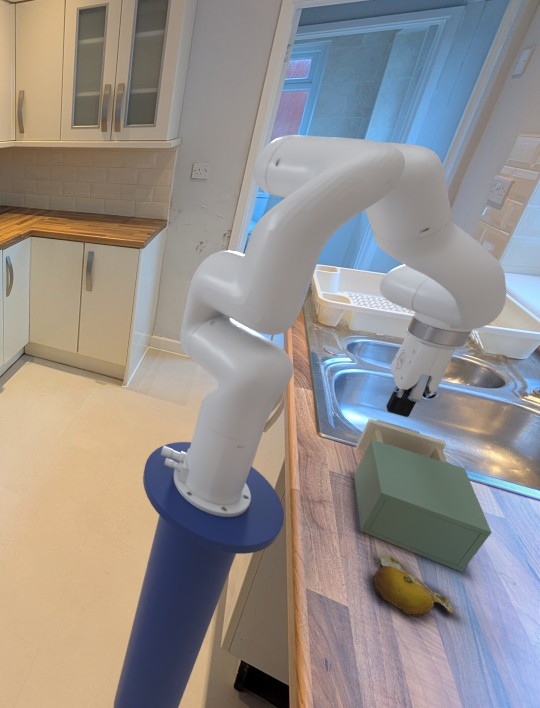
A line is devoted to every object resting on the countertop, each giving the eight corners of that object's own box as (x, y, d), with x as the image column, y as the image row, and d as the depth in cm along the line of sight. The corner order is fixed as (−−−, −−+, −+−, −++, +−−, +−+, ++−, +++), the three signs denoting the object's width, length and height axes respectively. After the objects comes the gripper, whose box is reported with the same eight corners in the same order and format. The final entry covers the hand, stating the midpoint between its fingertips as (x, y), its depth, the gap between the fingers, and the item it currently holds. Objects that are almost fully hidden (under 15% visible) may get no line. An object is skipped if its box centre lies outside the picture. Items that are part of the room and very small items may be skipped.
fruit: (457, 609, 57) (470, 592, 55) (424, 637, 54) (436, 620, 52) (384, 554, 64) (394, 538, 62) (351, 577, 61) (361, 560, 59)
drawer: (354, 433, 86) (366, 406, 83) (423, 454, 81) (439, 427, 78) (361, 489, 74) (377, 459, 71) (444, 519, 68) (464, 488, 65)
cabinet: (353, 475, 77) (371, 439, 74) (440, 505, 72) (464, 468, 68) (360, 531, 67) (381, 492, 64) (462, 572, 61) (491, 532, 58)
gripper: (403, 310, 83) (368, 386, 91) (417, 343, 72) (376, 426, 80) (455, 320, 80) (415, 399, 87) (479, 356, 68) (430, 442, 76)
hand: (396, 412), depth 84 cm, fingers closed
